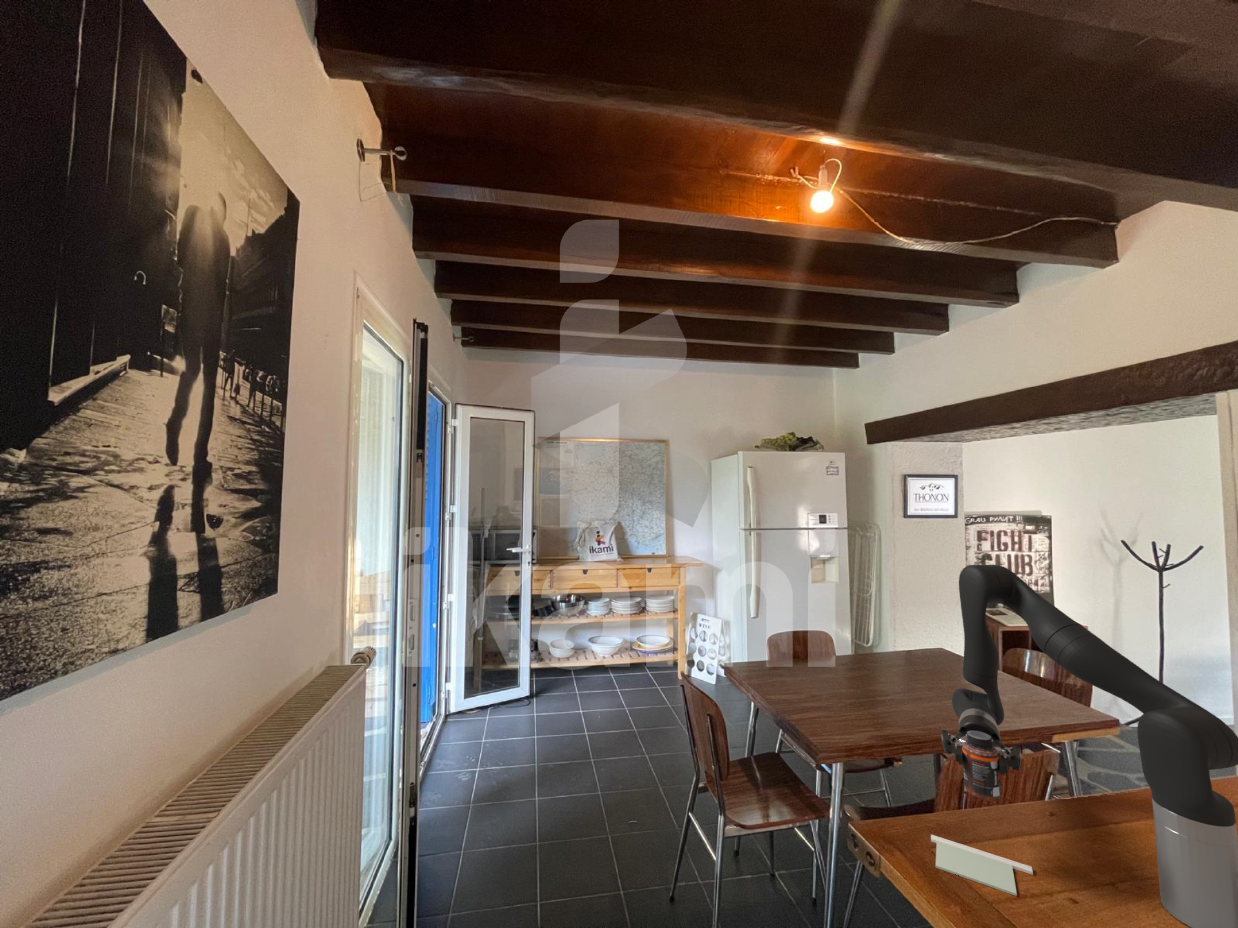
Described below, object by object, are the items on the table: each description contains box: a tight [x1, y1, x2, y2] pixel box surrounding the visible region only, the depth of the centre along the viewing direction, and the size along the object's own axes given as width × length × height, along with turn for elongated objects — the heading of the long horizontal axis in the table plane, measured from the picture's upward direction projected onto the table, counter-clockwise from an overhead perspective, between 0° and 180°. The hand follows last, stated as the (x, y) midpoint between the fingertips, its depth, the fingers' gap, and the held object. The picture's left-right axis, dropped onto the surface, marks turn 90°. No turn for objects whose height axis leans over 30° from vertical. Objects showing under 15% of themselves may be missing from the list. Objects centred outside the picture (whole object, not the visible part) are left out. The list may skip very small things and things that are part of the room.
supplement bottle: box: [962, 731, 1002, 802], centre depth 97 cm, size 6×6×11 cm
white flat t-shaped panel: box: [930, 834, 1034, 897], centre depth 92 cm, size 16×10×1 cm, turn 56°
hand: (981, 764), depth 95 cm, fingers closed on supplement bottle, 6 cm apart
